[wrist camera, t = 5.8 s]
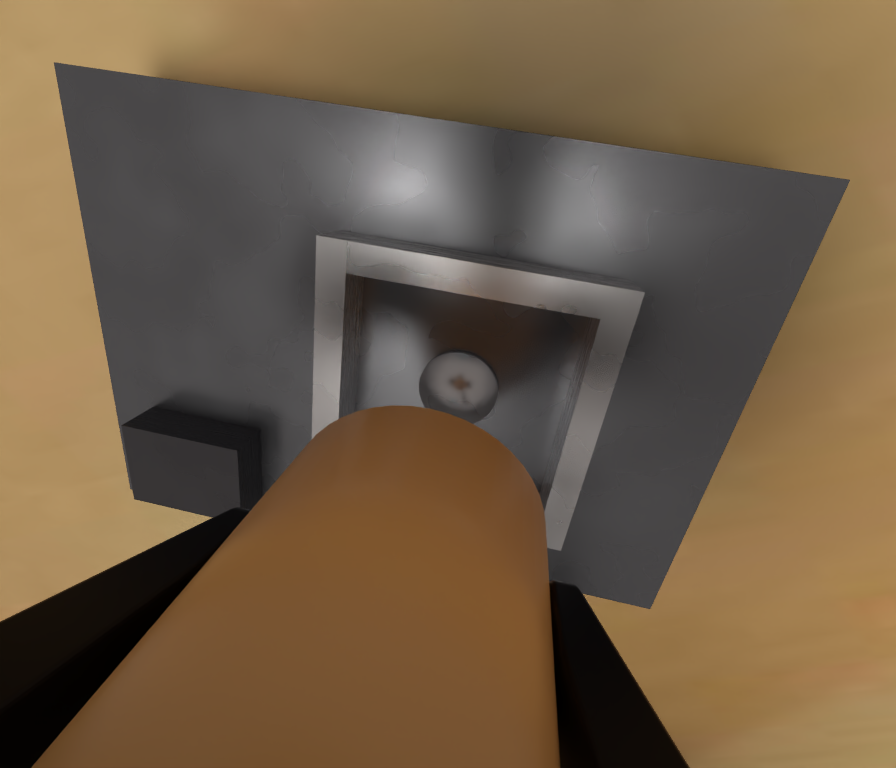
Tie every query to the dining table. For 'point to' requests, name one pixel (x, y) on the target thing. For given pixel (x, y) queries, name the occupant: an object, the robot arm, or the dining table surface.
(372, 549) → the cylinder
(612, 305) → the sink basin plate
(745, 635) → the dining table surface
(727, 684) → the dining table surface
